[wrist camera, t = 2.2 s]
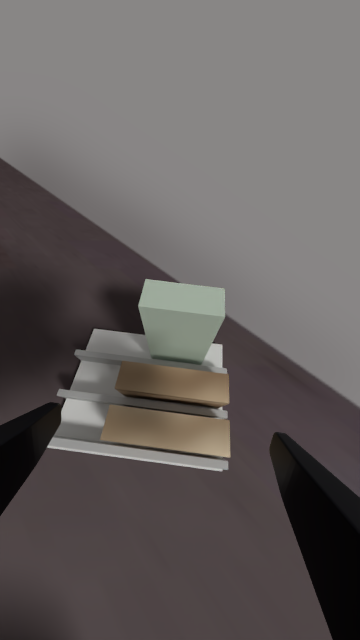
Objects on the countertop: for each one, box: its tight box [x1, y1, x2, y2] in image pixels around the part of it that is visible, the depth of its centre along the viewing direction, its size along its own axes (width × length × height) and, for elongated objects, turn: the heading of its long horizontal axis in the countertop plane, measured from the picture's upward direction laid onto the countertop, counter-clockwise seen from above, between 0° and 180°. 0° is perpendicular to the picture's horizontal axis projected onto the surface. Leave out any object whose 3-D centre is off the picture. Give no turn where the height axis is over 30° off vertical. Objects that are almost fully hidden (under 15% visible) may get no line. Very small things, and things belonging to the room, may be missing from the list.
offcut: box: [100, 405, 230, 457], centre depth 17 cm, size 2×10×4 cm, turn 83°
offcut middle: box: [115, 361, 229, 408], centre depth 19 cm, size 2×10×4 cm, turn 83°
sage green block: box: [138, 279, 225, 365], centre depth 18 cm, size 2×6×11 cm, turn 83°
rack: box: [47, 329, 228, 471], centre depth 20 cm, size 13×16×3 cm
